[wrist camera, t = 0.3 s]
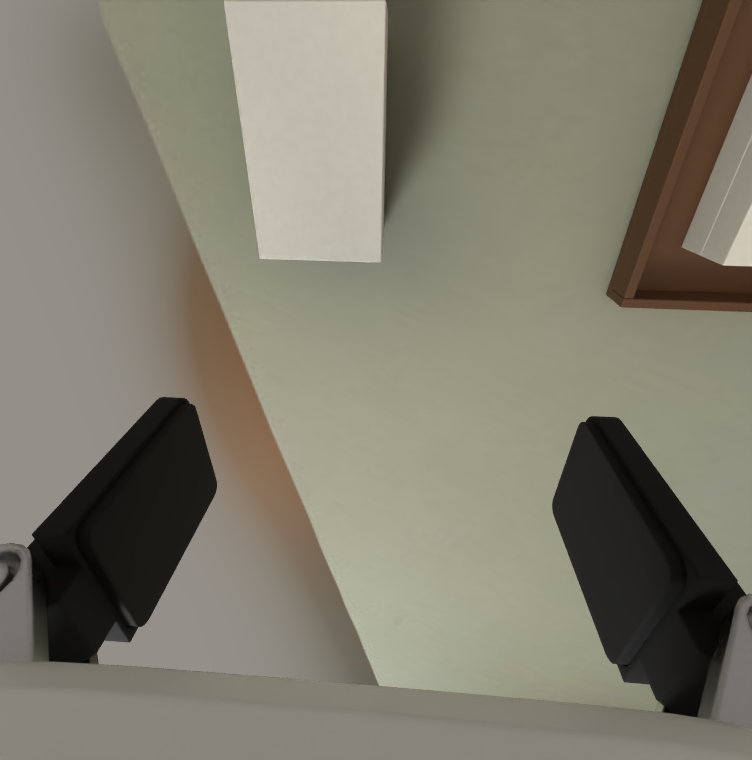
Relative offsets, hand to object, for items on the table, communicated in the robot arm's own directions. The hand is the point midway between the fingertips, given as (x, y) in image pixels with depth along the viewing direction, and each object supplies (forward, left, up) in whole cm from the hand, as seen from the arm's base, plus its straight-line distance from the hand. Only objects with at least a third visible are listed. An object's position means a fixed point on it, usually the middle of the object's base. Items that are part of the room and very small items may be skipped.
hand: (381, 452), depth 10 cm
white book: (-6, -4, -16) cm, 18 cm away
